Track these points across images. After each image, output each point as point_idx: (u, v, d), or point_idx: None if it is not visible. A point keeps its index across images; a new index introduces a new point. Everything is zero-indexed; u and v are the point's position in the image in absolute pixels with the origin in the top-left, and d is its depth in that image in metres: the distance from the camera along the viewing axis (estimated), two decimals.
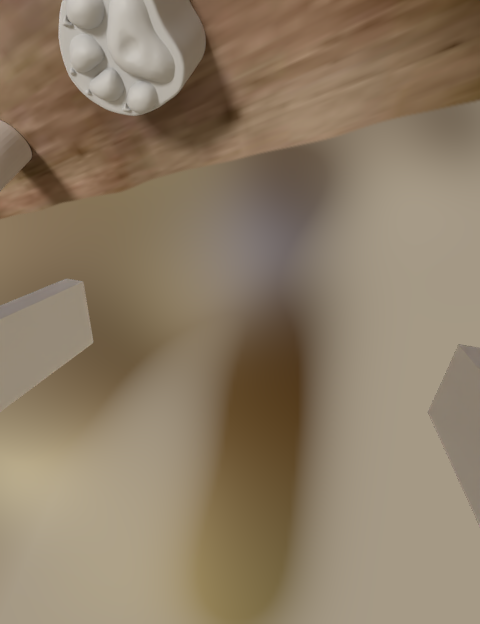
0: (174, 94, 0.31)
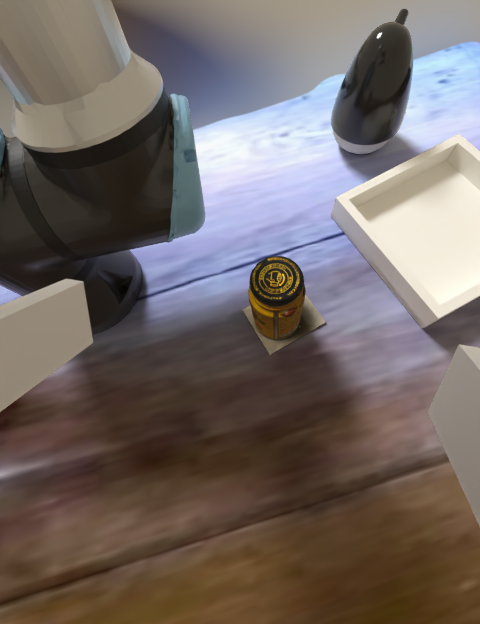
0: None
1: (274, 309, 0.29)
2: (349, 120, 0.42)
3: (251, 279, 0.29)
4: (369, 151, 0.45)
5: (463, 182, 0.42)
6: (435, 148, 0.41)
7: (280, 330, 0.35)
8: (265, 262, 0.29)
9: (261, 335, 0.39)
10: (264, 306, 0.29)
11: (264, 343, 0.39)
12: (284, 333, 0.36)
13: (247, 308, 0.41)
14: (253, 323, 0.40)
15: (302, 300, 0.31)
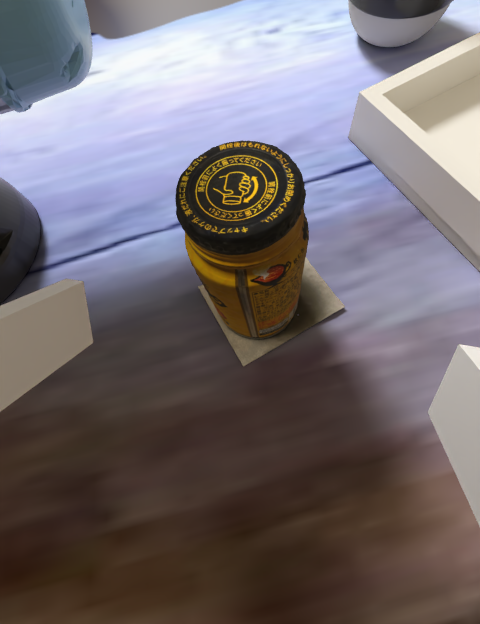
0: None
1: (234, 265, 0.12)
2: None
3: (178, 191, 0.12)
4: (408, 36, 0.28)
5: None
6: None
7: (259, 319, 0.17)
8: (213, 153, 0.12)
9: (229, 331, 0.22)
10: (211, 258, 0.12)
11: (234, 345, 0.22)
12: (268, 326, 0.19)
13: None
14: (216, 310, 0.23)
15: (302, 248, 0.14)
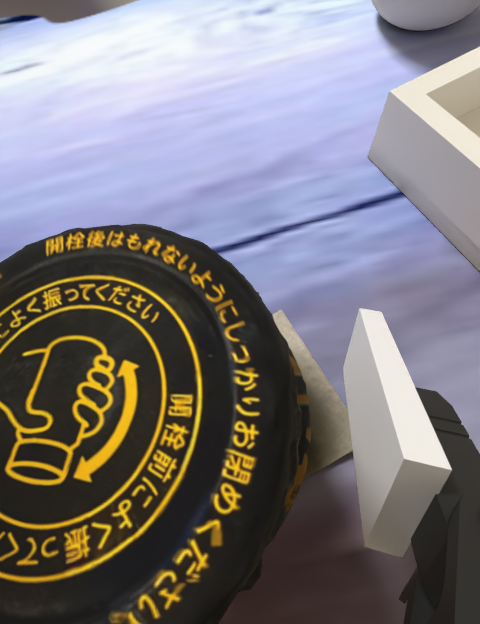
0: None
1: None
2: None
3: None
4: (452, 14, 0.20)
5: None
6: None
7: None
8: (23, 267, 0.04)
9: None
10: None
11: None
12: None
13: None
14: None
15: (293, 490, 0.05)
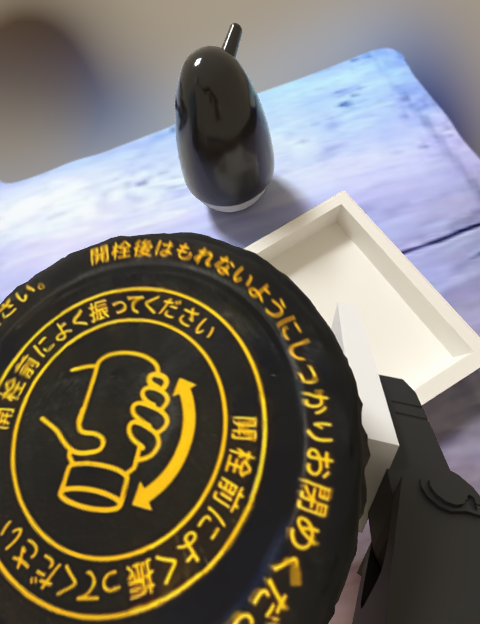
0: None
1: None
2: (192, 178, 0.30)
3: None
4: (237, 210, 0.34)
5: (355, 255, 0.31)
6: (311, 212, 0.30)
7: None
8: (68, 277, 0.04)
9: None
10: None
11: None
12: None
13: None
14: None
15: None
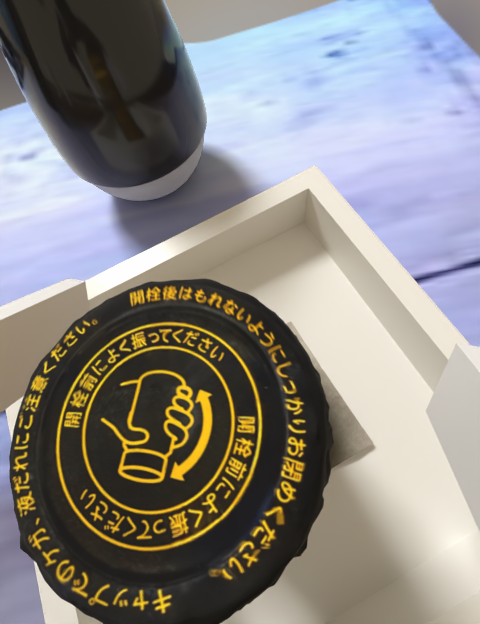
0: None
1: None
2: (46, 132, 0.17)
3: (18, 420, 0.05)
4: (146, 197, 0.21)
5: (332, 280, 0.18)
6: (255, 201, 0.17)
7: None
8: (114, 315, 0.05)
9: None
10: None
11: None
12: None
13: None
14: None
15: None
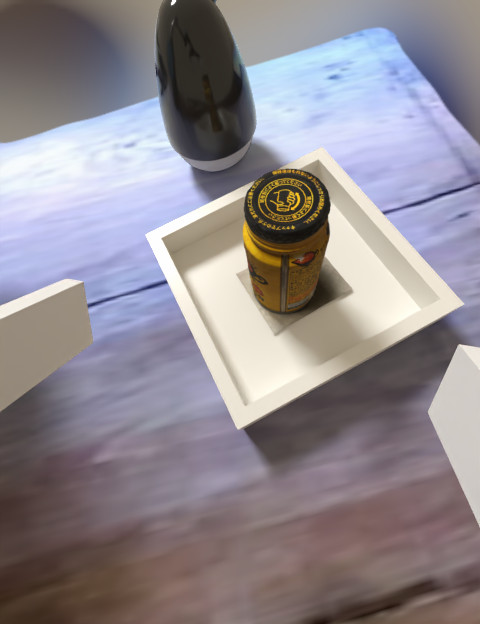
0: None
1: (283, 251, 0.18)
2: (171, 128, 0.30)
3: (246, 202, 0.18)
4: (218, 168, 0.34)
5: (331, 213, 0.31)
6: (288, 166, 0.30)
7: (290, 294, 0.24)
8: (268, 177, 0.19)
9: (262, 307, 0.28)
10: (267, 246, 0.19)
11: (266, 318, 0.28)
12: (295, 301, 0.25)
13: (243, 272, 0.30)
14: (251, 292, 0.29)
15: (326, 241, 0.20)
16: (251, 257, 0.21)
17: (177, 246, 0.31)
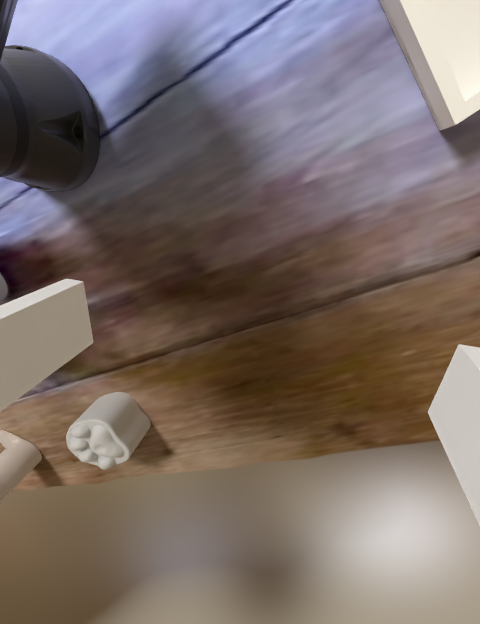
0: (124, 461, 0.52)
1: None
2: None
3: None
4: None
5: None
6: None
7: None
8: None
9: None
10: None
11: None
12: None
13: None
14: None
15: None
16: None
17: None
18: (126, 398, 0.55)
